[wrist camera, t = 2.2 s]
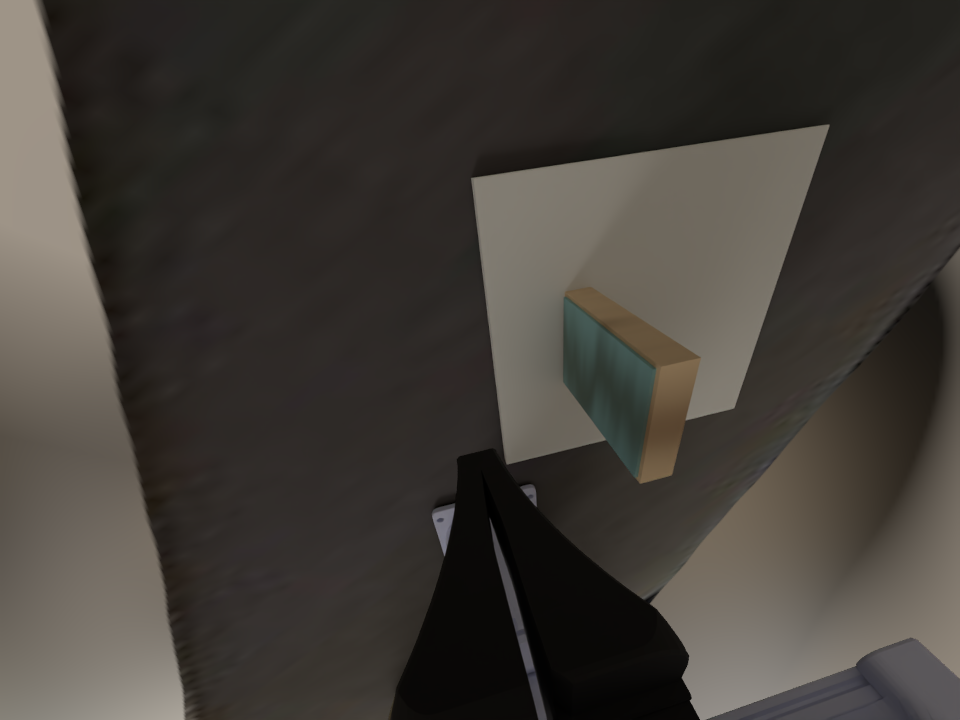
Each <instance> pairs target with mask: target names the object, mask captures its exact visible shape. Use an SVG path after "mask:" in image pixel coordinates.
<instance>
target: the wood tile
mask: <svg viewBox="0 0 960 720" xmlns="http://www.w3.org/2000/svg"><path fill="white" fill-rule="evenodd" d="M700 360H701V357H699V356H698V355H696V354H694V353H693V352H691V351H690V350H688V349H687V348H685V347H684V346H682V345H681V344H679V343H677V342H676V341H674V340H673V339H671V338H670V337H668V336H667V335H665V334H663V333H662V332H660V331H659V330H657V329H656V328H654V327H653V326H651V325H649V324H648V323H646V322H645V321H643V320H642V319H640V318H639V317H637V316H636V315H634V314H632V313H631V312H629V311H628V310H626V309H625V308H623V307H622V306H620V305H618V304H617V303H615V302H614V301H612V300H611V299H609V298H608V297H606V296H605V295H603V294H601V293H600V292H598V291H597V290H595V289H594V288H592V287H587V288H582V289H577V290H571V291H566V292H565V297H564V325H563V383H564V384H565V385H566V387H567V388H568V389H569V391H570V392H571V393H572V395H573V396H574V397H575V399H576V400H577V401H578V403H579V404H580V405H581V407H582V408H583V409H584V411H585V412H586V413H587V415H588V416H589V417H590V419H591V420H592V421H593V423H594V424H595V425H596V427H597V428H598V429H599V431H600V432H601V434H602V435H603V436H604V438H605V439H606V440H607V442H608V443H609V444H610V446H611V447H612V448H613V450H614V451H615V452H616V454H617V455H618V456H619V458H620V459H621V460H622V462H623V463H624V464H625V466H626V467H627V468H628V470H629V471H630V472H631V474H632V475H633V476H634V478H636V479H637V480H638V482H639V483H640V484H641V483H645V482H648V481H652V480H656V479H660V478H664V477H667V476H671V475H672V473H673V468H674V464H675V460H676V456H677V452H678V448H679V444H680V440H681V436H682V432H683V428H684V424H685V420H686V416H687V412H688V408H689V404H690V400H691V396H692V392H693V388H694V384H695V380H696V376H697V372H698V368H699V364H700Z"/></svg>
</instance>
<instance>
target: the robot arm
mask: <svg viewBox="0 0 960 720" xmlns="http://www.w3.org/2000/svg"><path fill="white" fill-rule="evenodd" d="M457 465H458V481H457V493H456V501H455V503H454V504H450V505H446V506H442V507H438V508H436V509H434V510H433V511H432V518H433V521H434V524H435V527H436V530H437V534H438V537H439V540H440V543H441V546H442V550H443V553H444V556H445V557H444V561H443V564H442V568H441V572H440V575H439V578H438V581H437V585H436V588H435V591H434V594H433V597H432V600H431V603H430V606H429V609H428V612H427V614H426V617H425V620H424V622H423V625H422V628H421V630H420V633H419V636H418V639H417V641H416V644H415V646H414V648H413V651H412V653H411V655H410V658H409V660H408V662H407V665H406V667H405V669H404V672H403V674H402V676H401V679H400V681H399V683H398V686H397V689H396V694H395V698H394V703H393V707H392V712H391V718H390V720H700V719H699V717H698V715H697V713H696V711H695V710H694V708H693V706H692V704H691V702H690V700H691V694H690V692H689V690H688V689H687V687H686V685H685V683H684V681H683V680H682V675H683V673H684V671H685V669H686V667H687V665H688V660H689V655H688V653H687V652H686V649H685V647H684V646H683V644H682V642H681V641H680V639H679V638H678V636H677V635H676V634H675V632H674V631H673V629H672V628H671V627H670V625H669V624H668V623H667V621H666V620H665V619H664V618H663V616H662V615H661V614H660V613H659V612H658V610H657V609H656V608H654V607H653V606H652V605H650V604H649V603H648V602H646V601H645V600H643V599H642V598H640V597H639V596H637V595H636V594H635V593H633V592H632V591H631V590H629V589H628V588H626V587H625V586H624V585H622V584H621V583H620V582H618V581H617V580H616V579H614V578H613V577H612V576H611V575H609V574H608V573H607V572H605V571H604V570H603V569H602V568H600V567H599V566H598V565H597V564H596V563H594V562H593V561H592V560H591V559H590V558H589V557H587V556H586V555H585V554H584V553H583V552H581V551H580V550H579V549H578V548H577V547H576V546H575V545H573V544H572V543H571V542H570V541H569V540H568V539H567V538H566V537H565V536H564V535H563V534H562V533H561V532H560V531H559V530H558V529H557V528H556V527H555V526H554V525H553V524H552V523H551V522H550V521H549V520H548V519H547V518H546V517H545V516H544V515H543V514H542V513H541V512H540V510H539V509H538V508H537V502H536V490H535V487H534V486H533V485H531V484H529V485H524V486H520V487H519V485H518V484H517V483H516V481H515V480H514V479H513V477H512V476H511V474H510V473H509V472H508V470H507V469H506V467H505V466H504V464H503V462H502V461H501V459H500V457H499V456H498V454H497V452H496V450H495V449H493V448H492V449H488V450H484V451H480V452H476V453H471V454H467V455H463V456H459V458H458V459H457ZM707 720H960V679H959V678H958V677H957V676H956V675H955V674H954V673H953V672H952V671H950V670H949V669H948V668H947V667H946V666H945V665H944V664H943V663H942V662H941V661H940V660H939V659H938V658H936V657H935V656H934V655H933V654H932V653H931V652H930V651H929V650H928V649H927V648H926V647H924V646H923V645H922V644H921V643H920V642H919V641H918V640H916V639H913V638H909V639H906V640H903V641H900V642H897V643H894V644H892V645H889V646H886V647H883V648H880V649H878V650H875V651H873V652H871V653H869V654H867V655H866V656H864V657H863V658H861V659H860V660H859V661H858V662H857V664H856V666H855V667H852V668H850V669H847V670H844V671H841V672H838V673H836V674H833V675H830V676H827V677H824V678H822V679H819V680H816V681H814V682H810V683H808V684H805V685H802V686H799V687H796V688H794V689H791V690H788V691H785V692H782V693H780V694H777V695H774V696H771V697H768V698H766V699H763V700H760V701H757V702H754V703H752V704H749V705H746V706H743V707H740V708H738V709H735V710H732V711H729V712H726V713H724V714H721V715H718V716H715V717H712V718H710V719H707Z"/></svg>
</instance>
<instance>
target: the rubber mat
mask: <svg viewBox="0 0 960 720" xmlns="http://www.w3.org/2000/svg"><path fill="white" fill-rule="evenodd" d="M828 128H829V125H819V126H813V127H806V128H799V129H793V130H786V131H779V132H773V133H766V134H760V135H753V136H746V137H740V138H733V139H726V140H720V141H713V142H706V143H700V144H693V145H687V146H680V147H673V148H667V149H660V150H653V151H647V152H640V153H633V154H627V155H620V156H614V157H607V158H600V159H594V160H587V161H580V162H574V163H567V164H561V165H554V166H547V167H541V168H534V169H527V170H521V171H514V172H507V173H501V174H494V175H488V176H481V177H474V178H471V181H472V189H473V197H474V206H475V214H476V222H477V231H478V239H479V247H480V256H481V264H482V273H483V281H484V289H485V298H486V306H487V314H488V323H489V331H490V339H491V348H492V356H493V364H494V373H495V381H496V389H497V398H498V406H499V414H500V423H501V431H502V440H503V448H504V456H505V461H506V464H511V463H515V462H519V461H523V460H527V459H531V458H536V457H540V456H544V455H548V454H552V453H556V452H560V451H564V450H568V449H572V448H576V447H580V446H584V445H588V444H592V443H596V442H600V441H604V440H606V439H605V438H604V436H603V435H602V434H601V432H600V431H599V429H598V428H597V427H596V425H595V424H594V423H593V421H592V420H591V419H590V417H589V416H588V415H587V413H586V412H585V411H584V409H583V408H582V407H581V405H580V404H579V403H578V401H577V400H576V399H575V397H574V396H573V395H572V393H571V392H570V391H569V389H568V388H567V387H566V385H565V384H564V383H563V325H564V297H565V292H566V291H571V290H577V289H582V288H587V287H592V288H594V289H595V290H597V291H598V292H600V293H601V294H603V295H605V296H606V297H608V298H609V299H611V300H612V301H614V302H615V303H617V304H618V305H620V306H622V307H623V308H625V309H626V310H628V311H629V312H631V313H632V314H634V315H636V316H637V317H639V318H640V319H642V320H643V321H645V322H646V323H648V324H649V325H651V326H653V327H654V328H656V329H657V330H659V331H660V332H662V333H663V334H665V335H667V336H668V337H670V338H671V339H673V340H674V341H676V342H677V343H679V344H681V345H682V346H684V347H685V348H687V349H688V350H690V351H691V352H693V353H694V354H696V355H698V356H699V357H701V360H700V364H699V368H698V372H697V376H696V380H695V384H694V388H693V392H692V396H691V400H690V404H689V408H688V412H687V416H686V420H689V419H693V418H697V417H701V416H705V415H709V414H713V413H717V412H721V411H725V410H729V409H733V408H734V407H735V404H736V401H737V398H738V395H739V392H740V389H741V386H742V384H743V381H744V378H745V375H746V372H747V369H748V366H749V363H750V360H751V357H752V354H753V351H754V348H755V345H756V342H757V339H758V336H759V333H760V330H761V327H762V324H763V321H764V318H765V315H766V312H767V309H768V306H769V303H770V300H771V297H772V295H773V292H774V289H775V286H776V283H777V280H778V277H779V274H780V271H781V268H782V265H783V262H784V259H785V256H786V253H787V250H788V247H789V244H790V241H791V238H792V235H793V232H794V229H795V226H796V223H797V220H798V217H799V214H800V211H801V209H802V206H803V203H804V200H805V197H806V194H807V191H808V188H809V185H810V182H811V179H812V176H813V173H814V170H815V167H816V164H817V161H818V158H819V155H820V152H821V149H822V146H823V143H824V140H825V137H826V134H827V131H828Z"/></svg>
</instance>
